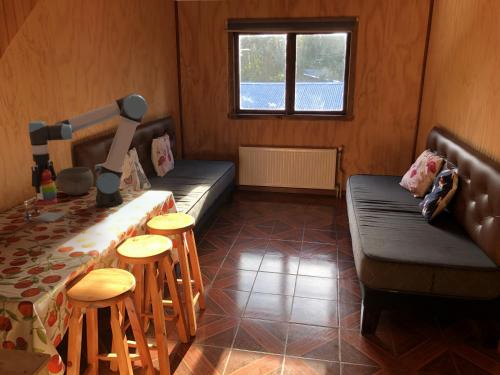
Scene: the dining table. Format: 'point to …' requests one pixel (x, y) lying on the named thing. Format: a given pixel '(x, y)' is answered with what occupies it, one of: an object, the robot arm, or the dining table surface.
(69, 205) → the dining table surface
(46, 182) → the stacking bear
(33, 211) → the miniature post railing
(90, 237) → the dining table surface
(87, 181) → the bowl
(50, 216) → the mat
